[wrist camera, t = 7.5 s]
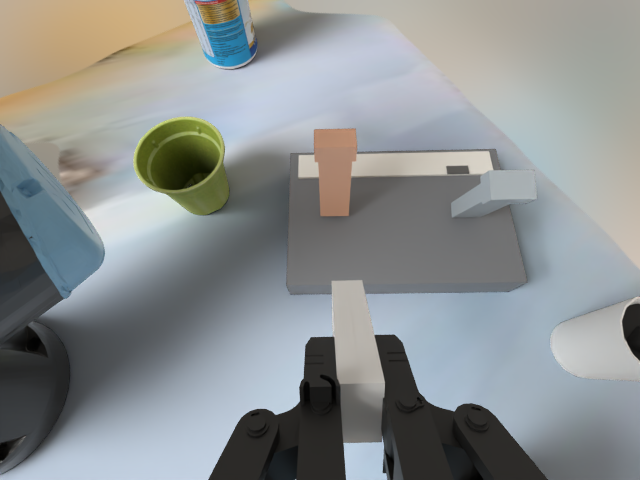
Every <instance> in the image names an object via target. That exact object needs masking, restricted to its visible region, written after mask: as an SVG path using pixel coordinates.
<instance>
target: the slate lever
mask: <svg viewBox="0 0 640 480" xmlns="http://www.w3.org/2000/svg"><path fill="white" fill-rule="evenodd" d="M480 181H481V183H480V184H479V185H477V186H476V187H474V188H473V189H471V190H470V191H468V192H467V193H465V194H464V195H462V196H461V197H459V198H458V199H456V200H455V201H453V202H452V203H451V213H452V218H464V217H482V216H484V215H486V214H489V213H491V212H493V211H496V210H498V209H500V208H502V207H505V206H507V205H509V204H526V203H529V202H531V201H533V200H536V199H537V191H536V180H535V170H489V171H487V172H486V173H485V174H483V175H482V176H480Z"/></svg>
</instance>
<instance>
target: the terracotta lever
mask: <svg viewBox="0 0 640 480" xmlns="http://www.w3.org/2000/svg"><path fill="white" fill-rule="evenodd" d="M356 155H357V140H356V129H315V130H314V159H315V162H318V168H319V192H320V216H349V202H350V187H351V171H352V162H355V161H356Z"/></svg>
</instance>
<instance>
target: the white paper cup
mask: <svg viewBox="0 0 640 480" xmlns="http://www.w3.org/2000/svg"><path fill="white" fill-rule="evenodd" d="M550 343H551V350H552V353H553V355H554V357H555V359H556V361H557V362H558V363H559V364H560V365H561V366H562V368H563V369H564V370H566V371H567V372H569V373H571V374H572V375H574V376H576V377H581V378H586V379H603V380H620V381H638V382H640V296H639V297H635V298H632V299H629V300H626V301H623V302H620V303H617V304H614V305H611V306H608V307H605V308H602V309H599V310H596V311H593V312H590V313H587V314H585V315H582V316H579V317H576V318H573V319H570V320H567V321H564V322H561V323H560V324H559V325H557V326H556V327H555V328H554V330H553V332H552V334H551V337H550Z"/></svg>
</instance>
